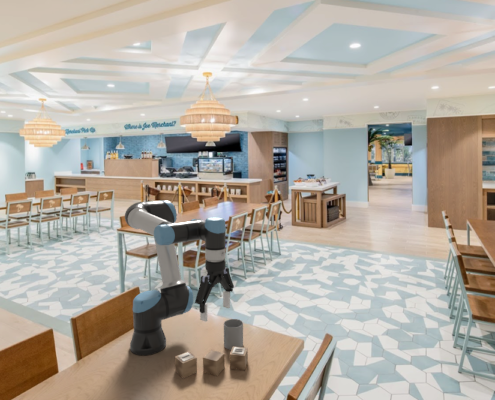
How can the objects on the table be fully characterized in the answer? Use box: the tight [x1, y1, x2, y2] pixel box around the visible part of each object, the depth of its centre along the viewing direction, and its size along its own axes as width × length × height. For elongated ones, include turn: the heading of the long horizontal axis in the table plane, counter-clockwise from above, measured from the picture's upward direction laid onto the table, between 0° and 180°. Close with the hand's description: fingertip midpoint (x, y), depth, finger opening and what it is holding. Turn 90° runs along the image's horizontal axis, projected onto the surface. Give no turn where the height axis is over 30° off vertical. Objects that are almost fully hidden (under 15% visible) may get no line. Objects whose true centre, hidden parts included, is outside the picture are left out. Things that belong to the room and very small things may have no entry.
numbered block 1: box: [174, 350, 198, 379], centre depth 131 cm, size 6×6×6 cm
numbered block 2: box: [229, 346, 249, 371], centre depth 135 cm, size 6×6×6 cm
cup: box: [223, 318, 244, 351], centre depth 150 cm, size 8×8×10 cm
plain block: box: [202, 349, 226, 377], centre depth 132 cm, size 6×6×6 cm
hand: (215, 313), depth 131 cm, fingers open, 13 cm apart
